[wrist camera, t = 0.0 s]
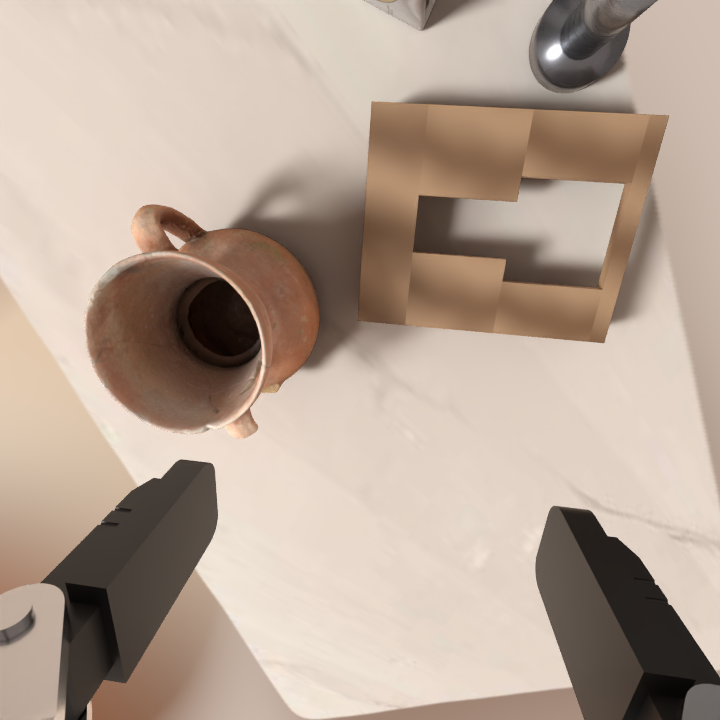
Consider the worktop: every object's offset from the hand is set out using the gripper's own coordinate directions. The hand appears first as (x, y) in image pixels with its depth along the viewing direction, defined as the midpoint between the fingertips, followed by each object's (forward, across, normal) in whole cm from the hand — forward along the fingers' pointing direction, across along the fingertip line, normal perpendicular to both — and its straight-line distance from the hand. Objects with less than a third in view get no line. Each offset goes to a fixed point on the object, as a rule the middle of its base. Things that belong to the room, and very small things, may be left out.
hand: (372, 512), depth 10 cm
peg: (+29, -11, -19) cm, 37 cm away
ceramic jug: (+30, +14, +2) cm, 33 cm away
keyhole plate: (+29, -7, -6) cm, 31 cm away
